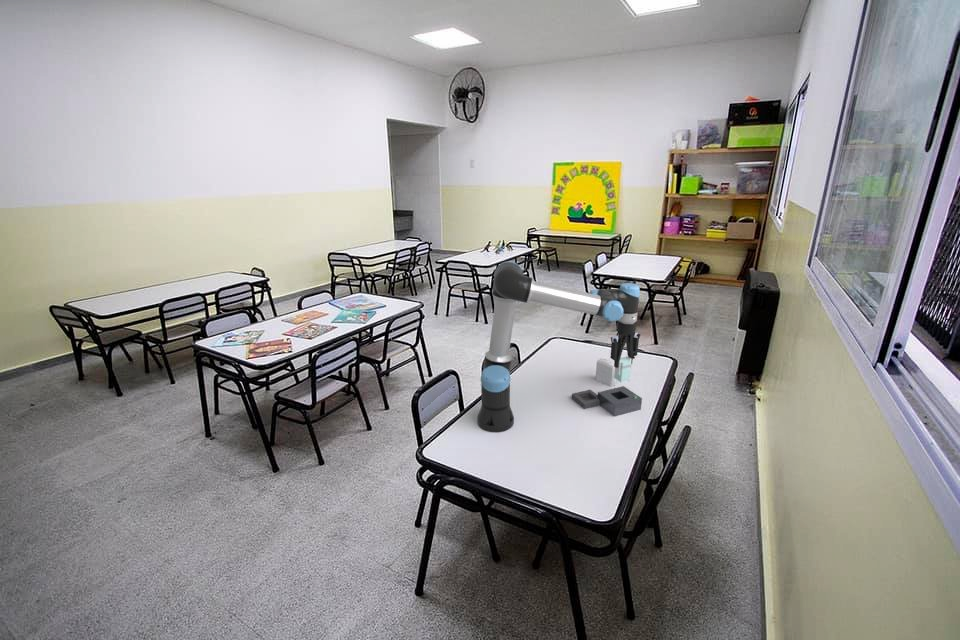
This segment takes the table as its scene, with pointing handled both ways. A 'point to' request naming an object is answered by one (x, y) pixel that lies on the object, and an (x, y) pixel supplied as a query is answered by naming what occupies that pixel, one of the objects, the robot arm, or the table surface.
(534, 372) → the table surface
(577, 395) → the dark grey square tray
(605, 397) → the port block
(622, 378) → the plug
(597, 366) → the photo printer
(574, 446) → the table surface
